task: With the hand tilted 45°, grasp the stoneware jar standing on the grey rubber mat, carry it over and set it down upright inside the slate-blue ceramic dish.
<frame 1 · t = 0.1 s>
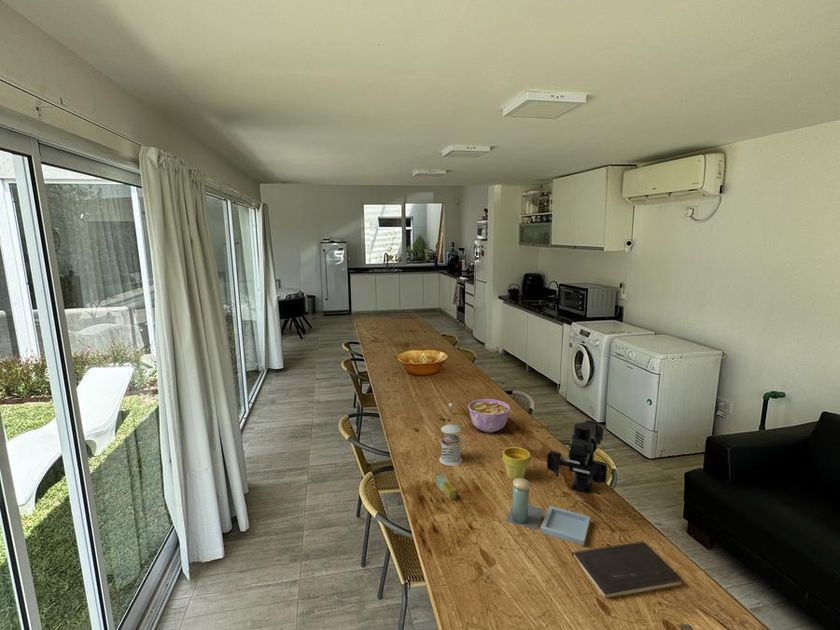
hand: (571, 478, 139), 17 cm above the table, tool horizontal, fingers open, 9 cm apart
hardcover book: (624, 572, 123), on the table
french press: (452, 460, 184), on the table
dish: (565, 527, 141), on the table
medication box: (445, 492, 162), on the table
plant pot: (515, 476, 171), on the table
mat: (525, 516, 147), on the table
bowl of food: (488, 429, 214), on the table
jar: (519, 519, 145), resting on mat
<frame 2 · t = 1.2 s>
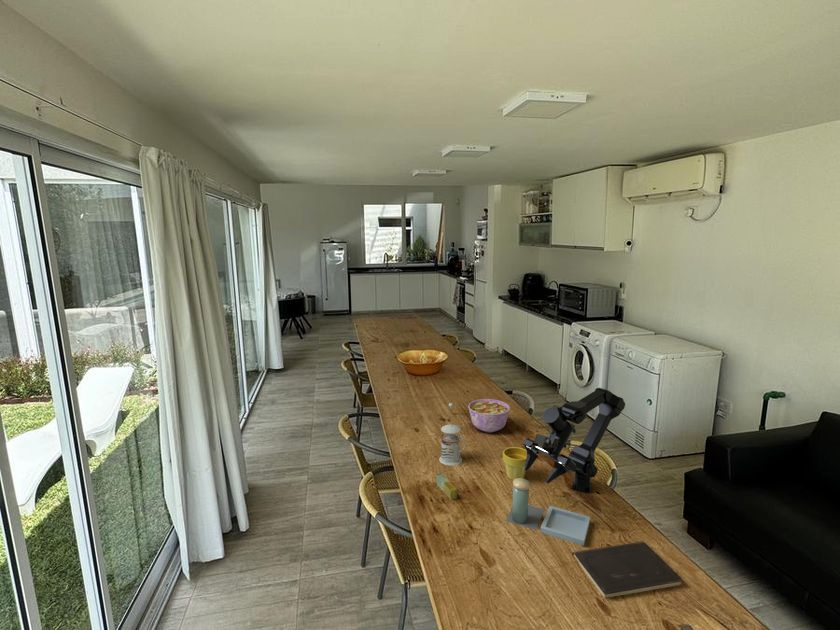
hand: (535, 476, 146), 13 cm above the table, tool tilted 45°, fingers open, 9 cm apart
nothing on the table moved.
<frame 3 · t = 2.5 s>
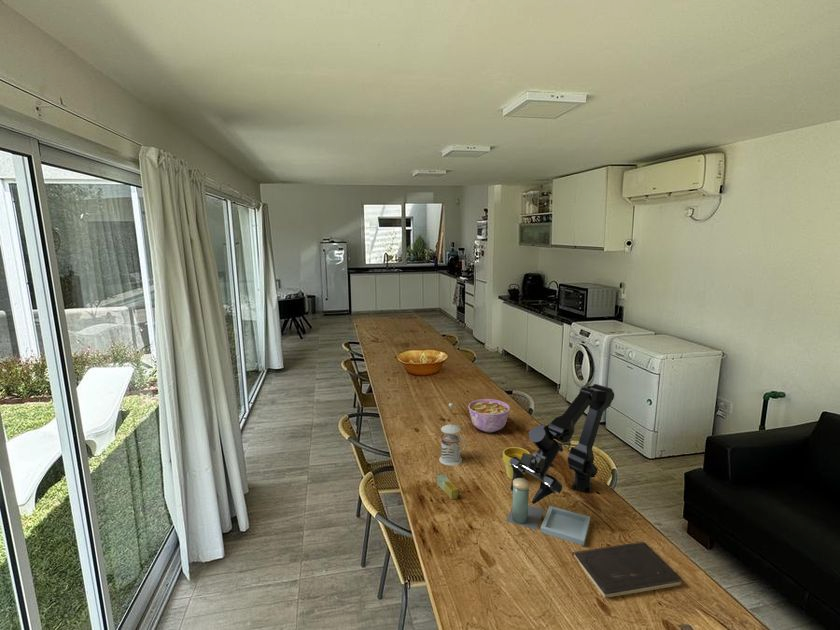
hand: (521, 496, 144), 8 cm above the table, tool tilted 45°, fingers open, 9 cm apart
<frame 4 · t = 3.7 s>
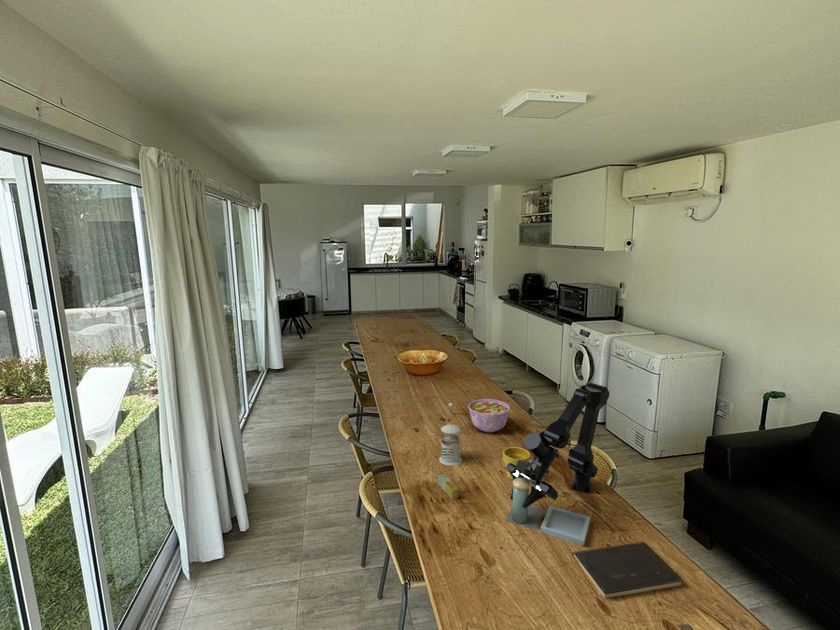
hand: (517, 503, 143), 7 cm above the table, tool tilted 45°, fingers closed on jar, 5 cm apart
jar: (519, 519, 145), resting on mat, touching gripper
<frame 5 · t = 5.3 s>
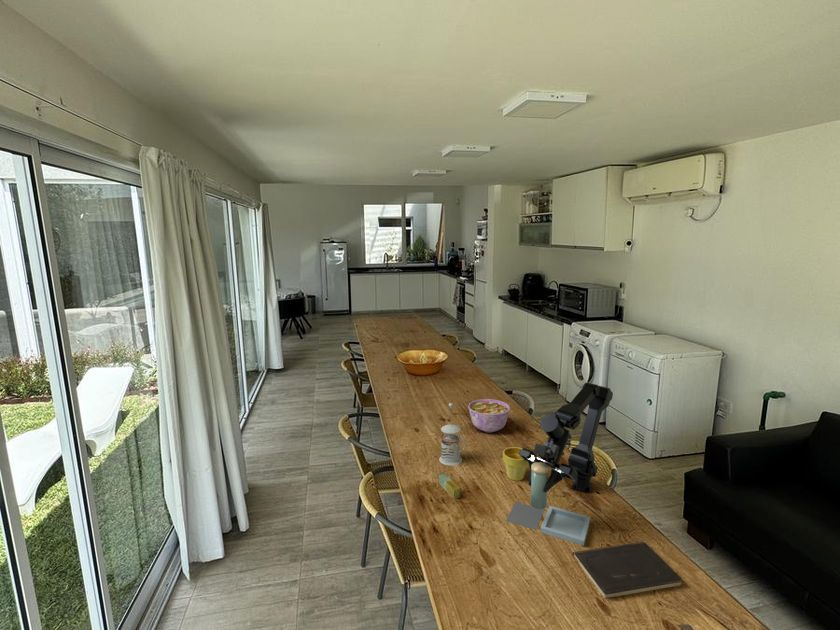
hand: (536, 488, 139), 13 cm above the table, tool tilted 45°, fingers closed on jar, 5 cm apart
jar: (538, 504, 141), point 7 cm above the table, touching gripper
when the fingers open (9 cm above the table, at t = 7.1 s): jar drops 2 cm, resting on dish.
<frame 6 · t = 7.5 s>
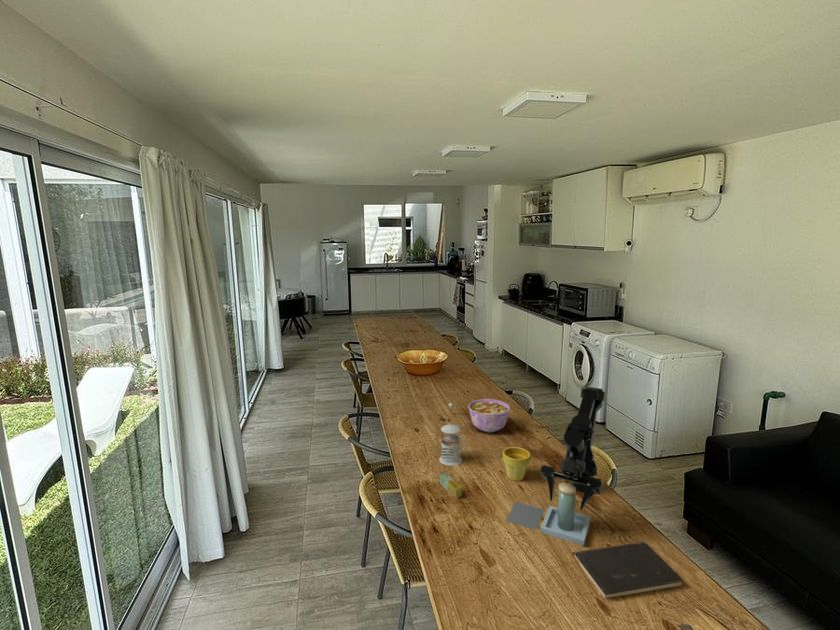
hand: (565, 505, 138), 9 cm above the table, tool tilted 45°, fingers open, 9 cm apart
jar: (565, 525, 141), point 1 cm above the table, touching dish
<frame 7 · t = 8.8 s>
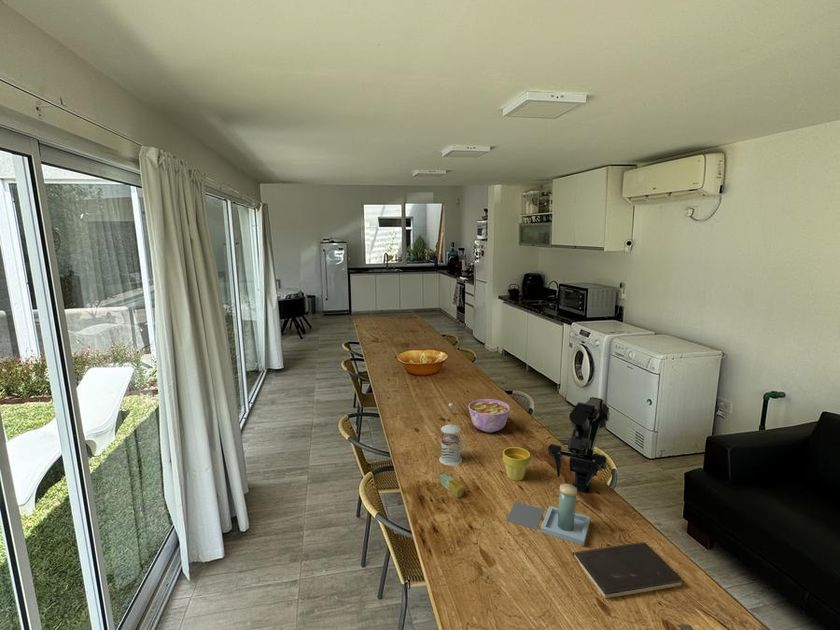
hand: (572, 480, 146), 12 cm above the table, tool tilted 45°, fingers open, 9 cm apart
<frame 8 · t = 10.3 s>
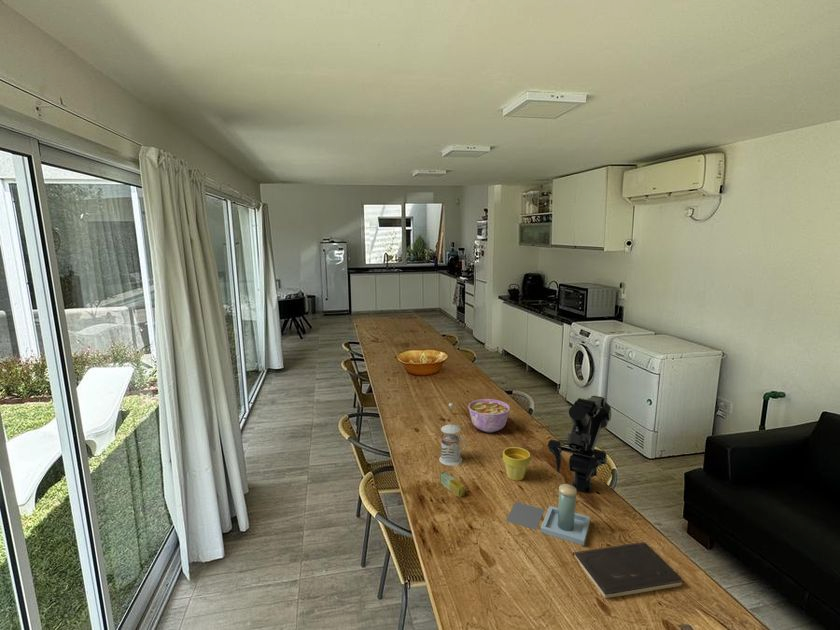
hand: (572, 476, 146), 14 cm above the table, tool tilted 45°, fingers open, 9 cm apart
at the end: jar inside the target area on the dish (0.1 cm from its centre), point 0.6 cm above the dish's base; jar tilted 1°; the gripper is holding nothing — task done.
